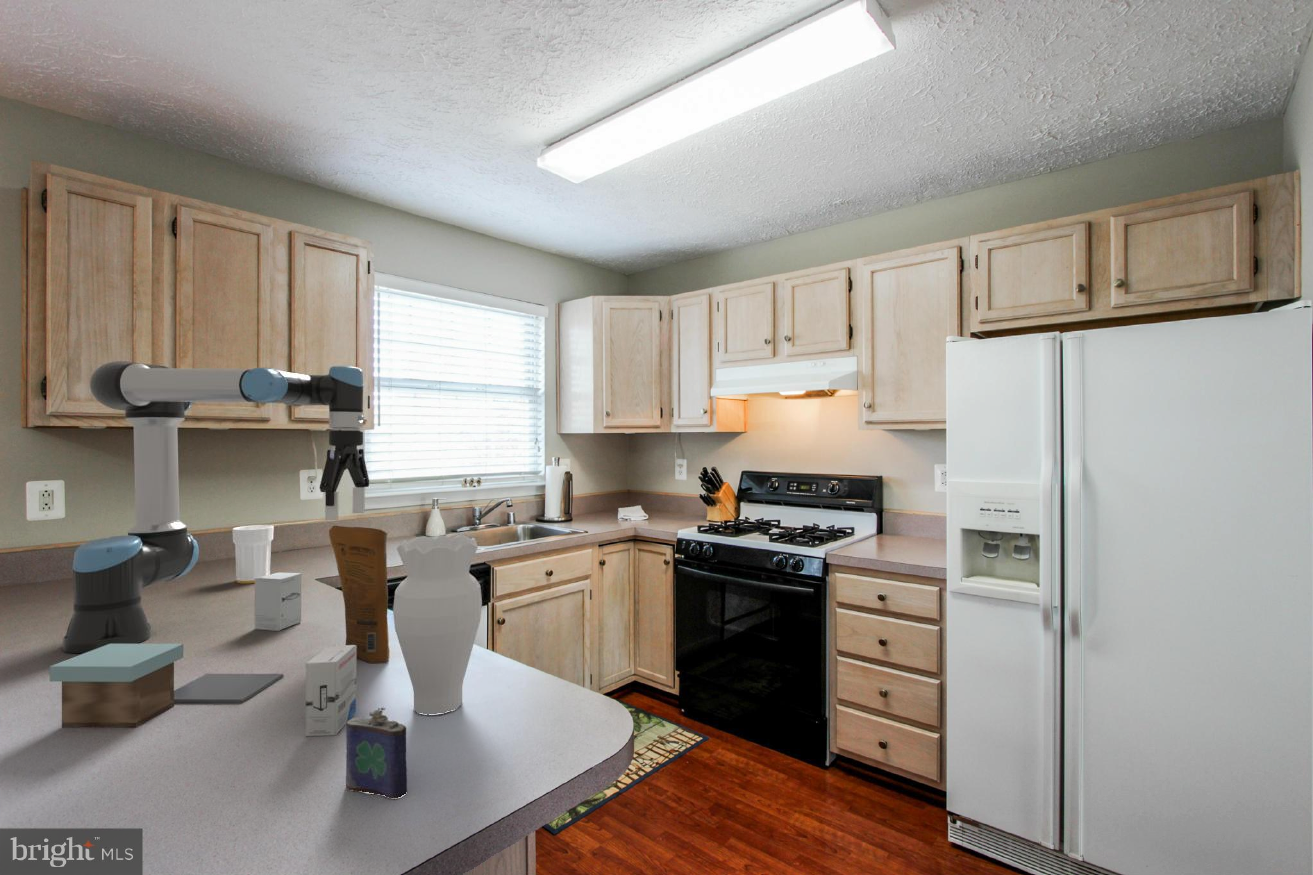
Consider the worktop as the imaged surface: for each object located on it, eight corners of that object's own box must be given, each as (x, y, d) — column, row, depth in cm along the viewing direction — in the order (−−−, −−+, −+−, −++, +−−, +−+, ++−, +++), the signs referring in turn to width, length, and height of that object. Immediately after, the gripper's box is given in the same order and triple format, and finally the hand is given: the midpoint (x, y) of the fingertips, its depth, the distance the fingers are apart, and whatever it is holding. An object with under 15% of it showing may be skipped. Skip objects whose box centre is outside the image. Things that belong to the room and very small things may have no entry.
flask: (341, 789, 84) (341, 709, 84) (357, 778, 87) (358, 700, 87) (398, 802, 81) (398, 719, 81) (413, 790, 84) (414, 709, 84)
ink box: (327, 713, 107) (327, 644, 107) (357, 712, 107) (357, 643, 107) (303, 737, 98) (303, 662, 98) (336, 736, 99) (336, 661, 99)
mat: (157, 702, 111) (157, 699, 111) (206, 676, 123) (206, 673, 123) (242, 702, 111) (242, 699, 111) (283, 676, 123) (283, 673, 123)
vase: (414, 688, 117) (414, 533, 117) (492, 689, 117) (492, 533, 117) (376, 724, 103) (377, 547, 103) (465, 726, 102) (466, 547, 102)
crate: (61, 727, 102) (61, 677, 102) (105, 705, 110) (105, 660, 110) (135, 727, 102) (135, 678, 102) (173, 706, 110) (174, 660, 110)
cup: (280, 579, 207) (280, 526, 207) (242, 586, 197) (243, 530, 197) (262, 575, 213) (263, 523, 213) (225, 581, 203) (225, 527, 203)
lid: (49, 696, 100) (49, 666, 100) (110, 670, 111) (110, 643, 111) (130, 696, 100) (131, 666, 100) (183, 670, 111) (183, 643, 111)
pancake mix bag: (371, 670, 127) (371, 531, 126) (325, 650, 138) (325, 523, 138) (402, 660, 132) (402, 527, 132) (355, 642, 143) (355, 520, 143)
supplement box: (279, 631, 152) (279, 579, 152) (253, 629, 153) (253, 577, 153) (302, 622, 159) (302, 572, 159) (277, 620, 160) (277, 571, 160)
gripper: (336, 429, 142) (335, 523, 142) (383, 430, 167) (382, 510, 167) (302, 429, 142) (302, 523, 142) (354, 430, 167) (354, 510, 167)
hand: (345, 516), depth 154 cm, fingers open, 13 cm apart
